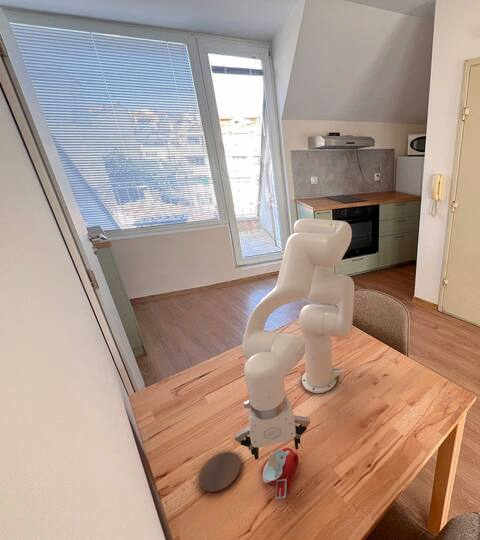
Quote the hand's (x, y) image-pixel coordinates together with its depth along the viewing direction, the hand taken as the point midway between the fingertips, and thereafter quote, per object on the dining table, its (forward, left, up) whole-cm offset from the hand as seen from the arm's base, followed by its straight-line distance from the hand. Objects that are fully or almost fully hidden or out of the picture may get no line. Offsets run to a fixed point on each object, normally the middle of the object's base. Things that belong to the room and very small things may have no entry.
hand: (277, 448), depth 74 cm
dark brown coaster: (+15, -4, -10) cm, 19 cm away
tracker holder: (0, +1, -10) cm, 10 cm away
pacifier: (+1, +1, -7) cm, 7 cm away
